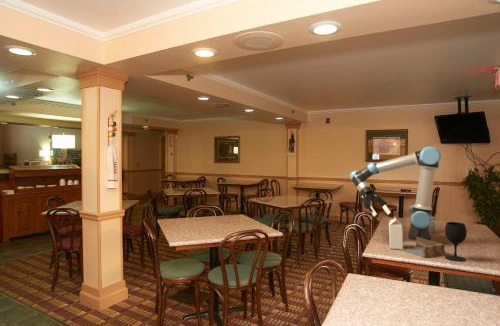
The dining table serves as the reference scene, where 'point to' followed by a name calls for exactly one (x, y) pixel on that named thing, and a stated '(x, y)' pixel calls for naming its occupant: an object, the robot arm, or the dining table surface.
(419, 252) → the mat
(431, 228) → the can
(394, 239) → the milk carton
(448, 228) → the wine glass
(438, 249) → the corner walls
